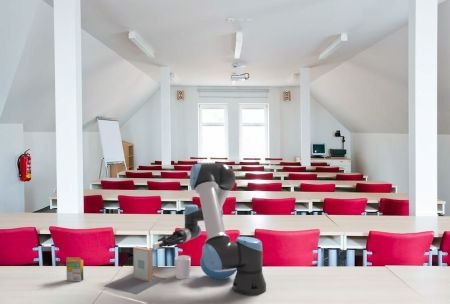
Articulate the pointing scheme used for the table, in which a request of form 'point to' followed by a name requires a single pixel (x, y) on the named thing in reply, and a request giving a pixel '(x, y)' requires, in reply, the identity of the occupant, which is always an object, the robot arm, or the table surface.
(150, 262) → the tile
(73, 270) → the crayon box
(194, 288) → the table surface
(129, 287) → the mat
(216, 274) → the educational model
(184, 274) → the white cup
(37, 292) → the table surface
